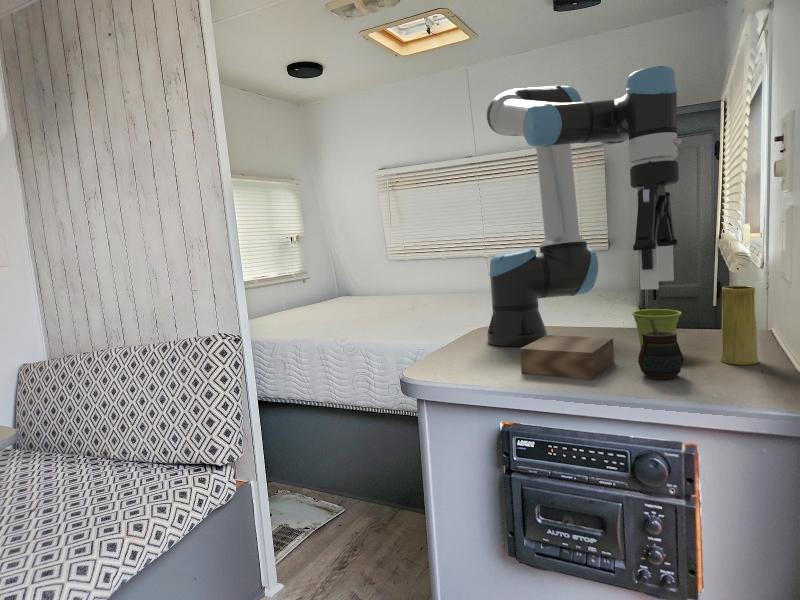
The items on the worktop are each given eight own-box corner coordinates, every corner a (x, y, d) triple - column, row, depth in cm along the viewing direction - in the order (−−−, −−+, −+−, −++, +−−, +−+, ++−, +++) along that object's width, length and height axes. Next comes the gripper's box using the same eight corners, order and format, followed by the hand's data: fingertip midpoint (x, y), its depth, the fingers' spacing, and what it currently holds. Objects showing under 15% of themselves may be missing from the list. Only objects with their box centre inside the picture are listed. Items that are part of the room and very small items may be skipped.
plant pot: (671, 346, 116) (670, 307, 115) (690, 355, 106) (689, 313, 105) (627, 348, 117) (625, 310, 116) (642, 358, 107) (641, 317, 106)
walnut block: (521, 373, 104) (520, 348, 103) (547, 357, 115) (546, 335, 114) (593, 379, 95) (592, 352, 95) (614, 361, 106) (613, 337, 106)
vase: (729, 366, 97) (728, 290, 95) (714, 358, 103) (713, 286, 101) (765, 364, 96) (764, 287, 94) (748, 357, 102) (747, 284, 100)
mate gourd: (652, 383, 90) (650, 326, 89) (630, 373, 98) (627, 321, 97) (692, 379, 90) (690, 322, 90) (667, 369, 98) (665, 317, 97)
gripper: (663, 151, 78) (667, 292, 80) (689, 164, 98) (692, 277, 100) (610, 160, 82) (616, 293, 84) (646, 170, 102) (650, 278, 104)
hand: (657, 285), depth 92 cm, fingers open, 13 cm apart
